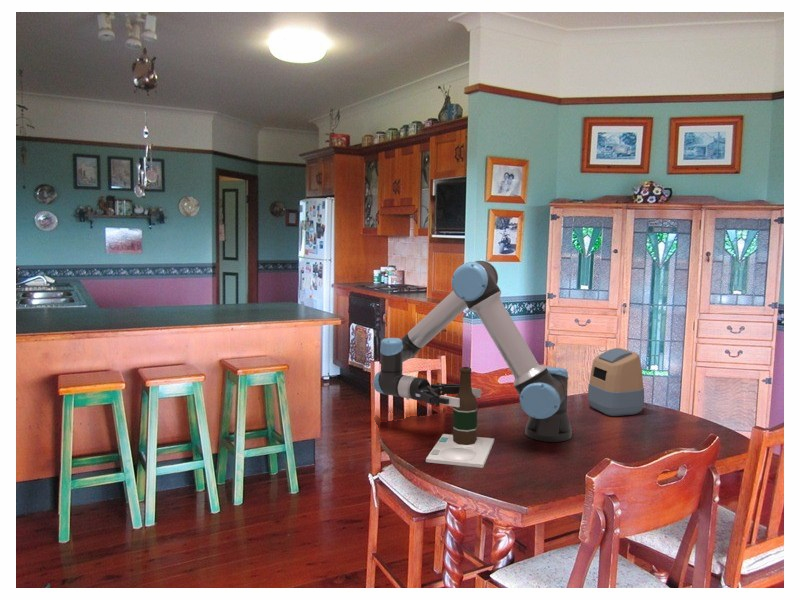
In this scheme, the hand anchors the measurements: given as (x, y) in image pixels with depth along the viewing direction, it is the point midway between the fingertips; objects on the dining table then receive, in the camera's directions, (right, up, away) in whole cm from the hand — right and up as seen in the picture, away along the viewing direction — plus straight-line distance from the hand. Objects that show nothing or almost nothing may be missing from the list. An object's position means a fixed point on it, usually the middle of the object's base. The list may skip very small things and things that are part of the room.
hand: (470, 398), depth 203 cm
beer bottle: (-1, -14, +3) cm, 15 cm away
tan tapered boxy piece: (+59, -11, +41) cm, 73 cm away
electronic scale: (-3, -16, -3) cm, 17 cm away
